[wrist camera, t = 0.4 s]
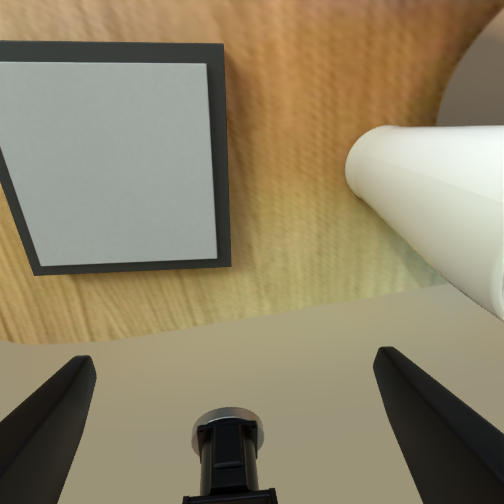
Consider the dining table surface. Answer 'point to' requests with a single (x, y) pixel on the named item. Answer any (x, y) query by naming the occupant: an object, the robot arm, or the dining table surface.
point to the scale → (115, 154)
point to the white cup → (440, 199)
